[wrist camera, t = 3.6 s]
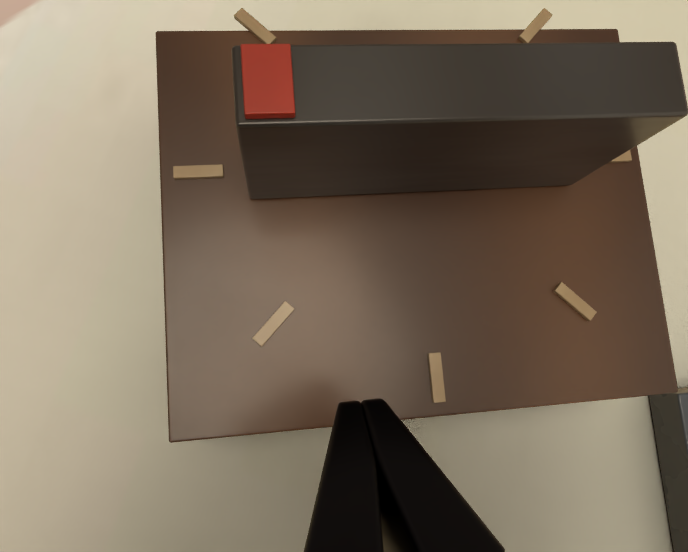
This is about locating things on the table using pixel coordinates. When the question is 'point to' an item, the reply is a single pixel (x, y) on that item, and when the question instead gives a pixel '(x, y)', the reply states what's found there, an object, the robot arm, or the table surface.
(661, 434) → the button box
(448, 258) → the dial console
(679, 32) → the table surface
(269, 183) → the upright dark panel
